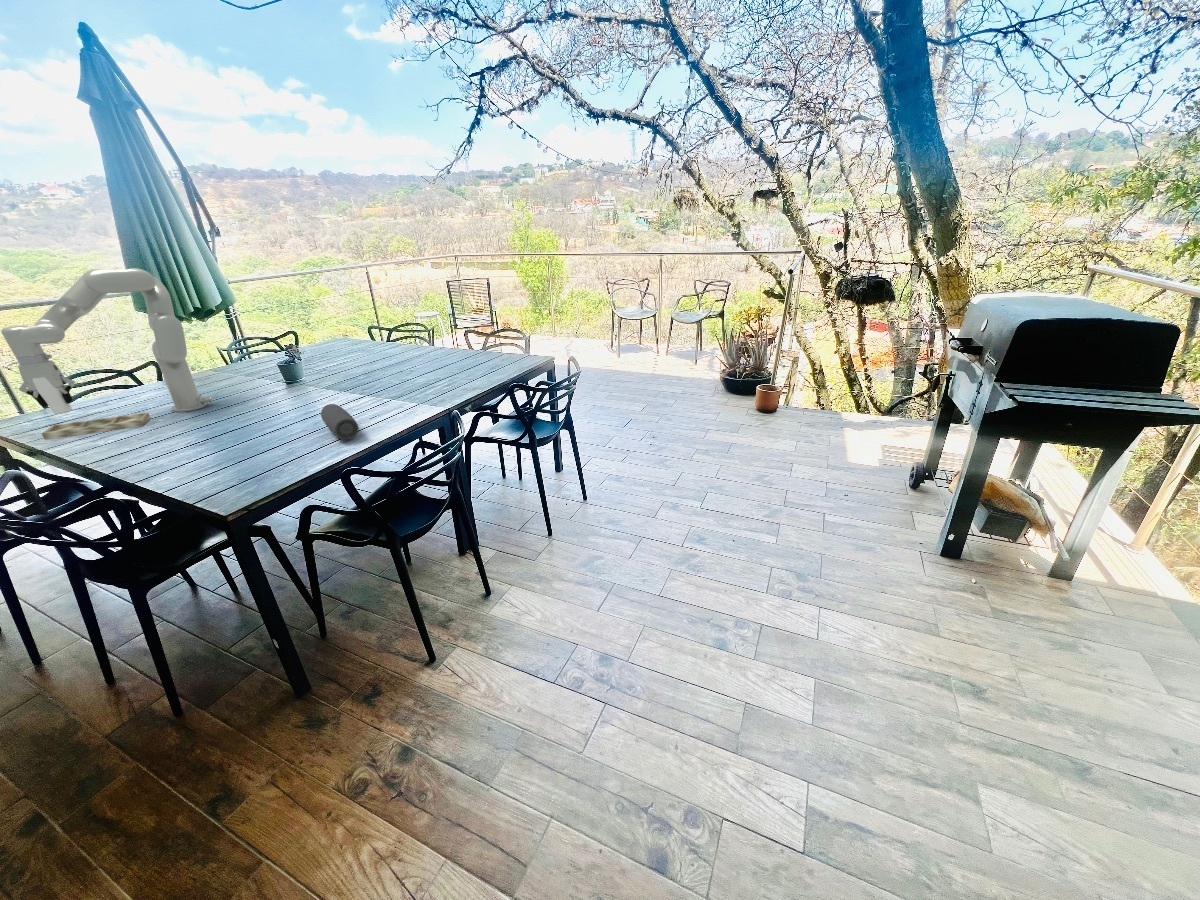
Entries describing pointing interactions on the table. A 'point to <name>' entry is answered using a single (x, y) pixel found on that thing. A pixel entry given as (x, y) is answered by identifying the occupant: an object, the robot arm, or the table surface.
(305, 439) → the table surface
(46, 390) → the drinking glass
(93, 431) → the wooden compartment tray
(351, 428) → the bluetooth speaker
